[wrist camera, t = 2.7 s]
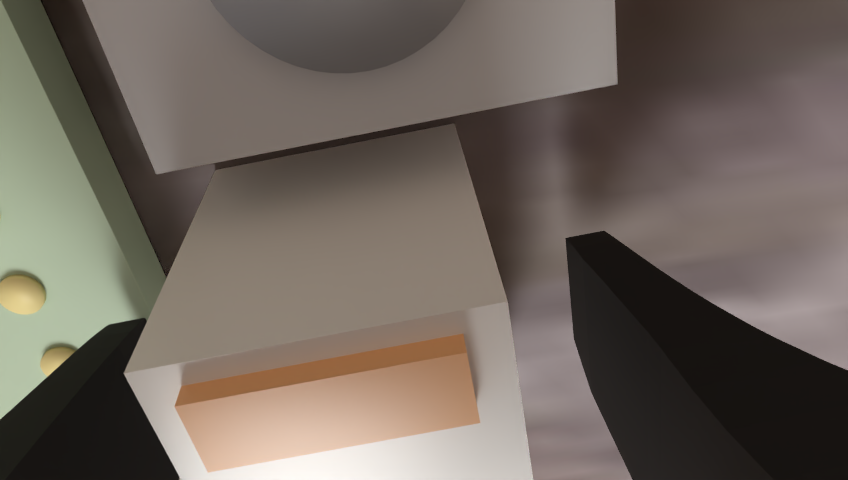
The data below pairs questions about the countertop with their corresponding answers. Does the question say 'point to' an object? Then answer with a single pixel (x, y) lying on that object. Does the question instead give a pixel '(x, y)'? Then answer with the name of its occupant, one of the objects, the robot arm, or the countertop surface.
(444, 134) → the white block
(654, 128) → the countertop surface
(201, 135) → the fan housing
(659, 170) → the countertop surface
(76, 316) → the board
